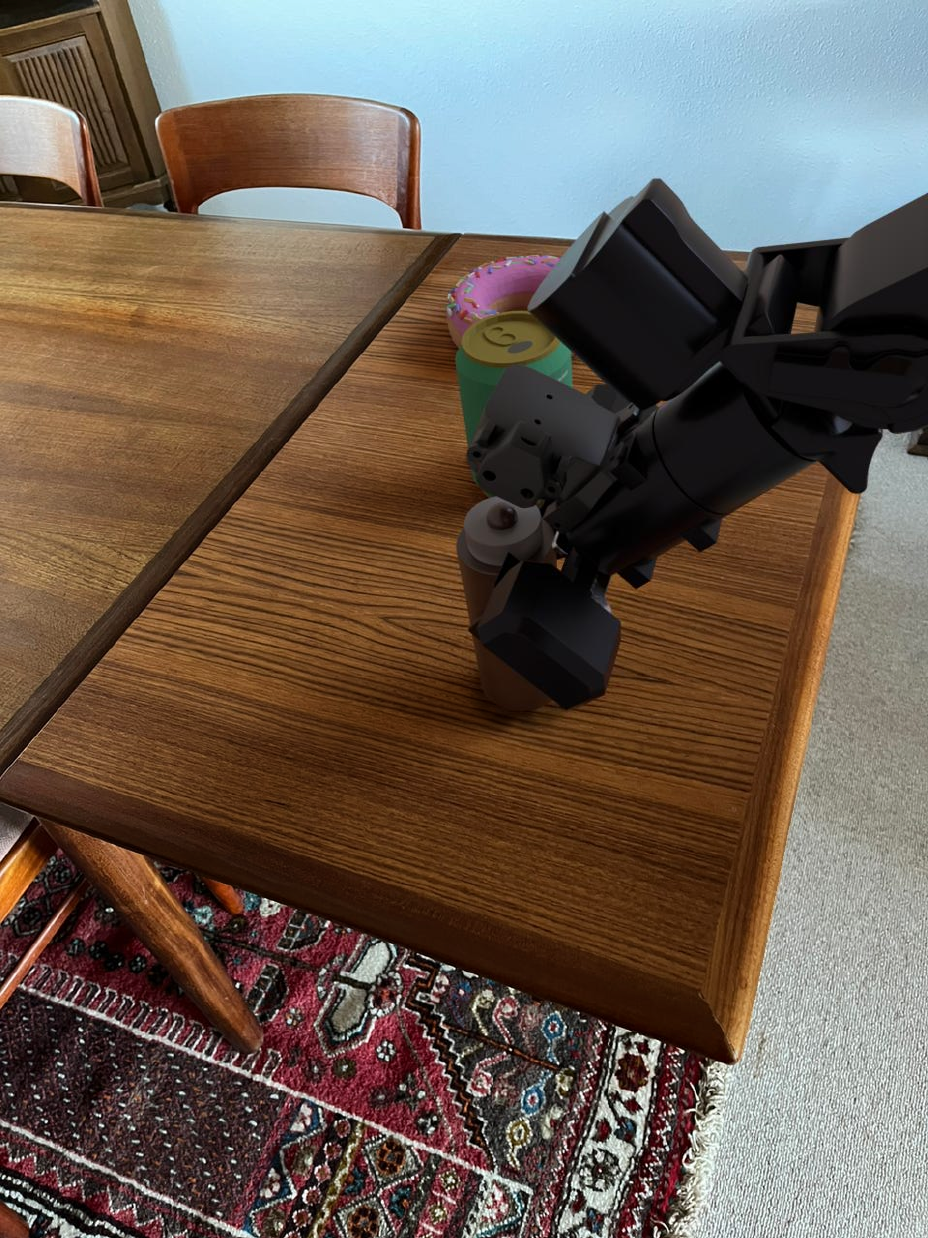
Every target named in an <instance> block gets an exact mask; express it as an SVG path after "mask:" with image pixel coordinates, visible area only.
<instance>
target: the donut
mask: <svg viewBox="0 0 928 1238" xmlns="http://www.w3.org/2000/svg"><path fill="white" fill-rule="evenodd" d="M559 260H560V258H559V257H557V256H553V255H550V254H547V255H546V254H545V255H539V254H529V255H526V256H524V255H517V256H506V257H504V258H500V259H496V262H494V261H493V260H492V261H490V262H489V261H488V262H485V263H482V264H481V265H478V267H476V268H473V269H471V270H470V271H469V272H468V273H466V274H465V275H464V276H461V278H460V279H459V280H458V282H457V283H456V284H454V288H453V289H451V290H449V291H448V294H447V299H446V303H447V305H446V306H445V310H446V314H445V317H446V324H447V328H448V332H449V335H450V337H451V338H452V341H453V343H454V344H455V345H456V347H457V348H458V349H459V348H460V346H461V344H462V341H461V340H462V336H463V334H464V332H465V331H466V330H467V329H468V328H469V327H470V326H471V325H472V324H474V323H475V322H477V321H479V320H481V319H483V318H485V317H488V316H490V315H494V314H497V313H502V312H508V311H528V310H527V307H528V305H529V302H530V300H531V299H532V297H533V295H534V294H535V292H536V291H537V289H538V288H539V286H540V285H541V283H542V282H543V280H544V279H545V278H546V276H547V275H548V274H549V272H550V271H551V270H552V269H553V267H554V266H555V265H556V263H557V262H558V261H559ZM573 356H575V355H574V354H573V353H572V352H571V357H573Z"/></svg>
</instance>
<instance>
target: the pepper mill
mask: <svg viewBox="0 0 928 1238" xmlns="http://www.w3.org/2000/svg"><path fill="white" fill-rule="evenodd" d="M537 506H538V505H537V504H536V505H535V506H533V507H529V508H520V507H518V506H516V505H514V504H511V503H509V502H507V501H505V500H503V499H501V498H499V497H497V496H496V497H492V498H489V497H487V498H486V499H484V500H481V501H479V502H477V503H476V504H475V505H473V506H472V507H471V509H469V511H468V512H467V513H466V515H465V517H464V521H463V528H462V529H461V531H460V532H459V534H458V536H457V539H456V544H455V549H456V550H455V551H456V556H457V561H458V565H459V571H460V577H461V583H462V588H463V594H464V599H465V604H466V609H467V615H468V620H469V625H470V624H471V623H472V622H473V621H474V619H475V618H476V617H477V616H478V615H479V614H480V613H481V612H482V611H483V610H484V609H485V608H486V606H487V604H488V601H489V599H490V597H491V594H492V588H493V585H494V582H495V580H496V578H497V576H498V573H499V571H500V569H501V566H502V564H503V562H504V560H505V557H506V555H507V553H508V552H510V553H511V554H512V555H513V556H514V557H516V558H517V559H518V560H519V561H523V560H527V561H534V562H542V563H549V564H552V565H553V566H555V567H556V568H558V560H557V558H556V551H555V550H554V549H553V547H552V542H553V539H554V537H555V535H554V531H553V529H552V527H551V526H550V525H549V524H548V523H547V522H546V521H545V520H543V517H541V513H540V510H539V509H538V507H537ZM471 638H472V642H473V648H474V653H475V658H476V660H475V661H476V665H477V672H478V675H479V681H480V686H481V689H482V692H483V693H484V695H485V696H486V697H487V699H488V700H490V701H491V702H492V703H493V704H495V705H496V706H498V707H500V708H503V709H506V710H509V711H515V712H516V711H517V712H525V711H532V710H536V709H539V708H542V707H544V706H546V705H548V704H550V703H551V702H552V701H553V700H552V699H551V698H549V697H548V696H547V695H546V694H544V693H543V692H542V691H540V690H539V689H538V688H537V687H535V686H534V685H533V684H531V683H530V682H529V681H527V680H526V679H525V678H524V677H522V676H521V675H520V674H518V673H517V672H516V671H515V670H513V669H512V668H511V667H509V666H508V665H507V664H506V663H504V662H503V661H502V660H500V659H499V658H498V657H497V656H495V655H494V654H493V653H491V652H490V651H489V650H488V649H486V648H485V647H484V646H482V643H481V641H480V640H479V639H477V638H476V637H475V636H473V635H472V634H471Z"/></svg>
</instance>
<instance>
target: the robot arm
mask: <svg viewBox="0 0 928 1238" xmlns="http://www.w3.org/2000/svg"><path fill="white" fill-rule="evenodd" d="M559 259H560V260H559V261H558V262H557V263H556V265H555V266H554V267H553V269H552V270H551V271H550V272H549V274H548V275H547V276H546V278H545V279H544V280H543V282H542V283H541V285H540V286H539V288H538V289H537V291H536V292H535V294H534V295H533V297H532V299H531V300H530V302H529V305H528V307H527V310H528V312H529V313H531V314H532V315H533V316H534V317H535V318H536V319H537V320H538V321H539V322H540V323H541V324H542V325H543V326H544V327H546V328H547V329H548V330H549V331H550V332H551V333H552V334H553V335H554V336H555V337H556V338H557V339H558V340H559V341H560V342H562V343H563V344H564V345H565V346H566V347H567V348H568V349H569V350H570V351H571V352H572V353H573V354H574V355H573V356H575V357H576V358H577V359H579V360H580V361H581V362H582V363H583V364H584V365H585V366H586V367H587V368H588V369H589V370H591V372H592V373H594V375H595V376H596V377H598V378H599V379H600V380H601V381H602V382H603V383H604V384H599V383H597V384H595V385H594V386H592V387H591V389H589V390H588V391H587V392H582V391H580V390H578V389H576V388H574V387H573V388H572V387H570V386H568V385H566V384H563V383H561V382H559V381H557V380H555V379H553V378H551V377H549V376H547V375H544V374H542V373H540V372H538V371H536V370H534V369H532V368H530V367H527V366H524V365H511V366H509V367H507V368H506V369H505V371H504V372H503V374H502V376H501V378H500V380H499V381H498V383H497V385H496V387H495V389H494V391H493V393H492V394H491V396H490V398H489V400H488V402H487V404H486V406H485V408H484V411H483V413H482V416H481V418H480V421H479V423H478V426H477V428H476V431H475V433H474V436H473V438H472V441H471V443H470V446H469V448H468V447H467V449H466V454H465V462H466V464H467V466H468V467H469V468H470V470H471V469H472V470H473V471H474V472H476V473H477V474H476V481H477V483H478V485H479V486H478V485H477V486H478V487H479V488H480V490H481V489H482V490H484V491H486V492H488V493H490V494H492V495H494V496H497V497H499V498H501V499H503V500H505V501H507V502H509V503H511V504H514V505H516V506H518V507H520V508H529V507H533V506H535V505H536V506H537V507H538V509H539V510H540V513H541V517H543V520H545V521H546V522H547V523H548V524H549V525H550V526H551V527H552V529H553V531H554V535H555V537H554V539H553V542H552V547H553V549H554V550H555V551H556V558H557V561H558V560H562V559H564V560H563V563H562V566H561V569H559V568H558V567H557V568H556V567H555V566H553V565H552V564H549V563H542V562H534V561H527V560H523V561H519V560H518V559H517V558H516V557H514V556H513V555H512V554H511V553H510V552H508V553H507V555H506V557H505V560H504V562H503V564H502V566H501V569H500V571H499V573H498V576H497V578H496V580H495V582H494V585H493V588H492V594H491V597H490V599H489V601H488V604H487V606H486V608H485V609H484V610H483V611H482V612H481V613H480V614H479V615H478V616H477V617H476V618H475V619H474V621H473V622H472V623H471V624H470V623H469V626H468V627H467V632H468V633H470V634H471V636H472V635H473V636H475V637H476V638H477V639H479V640H480V641H481V643H482V646H484V647H485V648H486V649H488V650H489V651H490V652H491V653H493V654H494V655H495V656H497V657H498V658H499V659H500V660H502V661H503V662H504V663H506V664H507V665H508V666H509V667H511V668H512V669H513V670H515V671H516V672H517V673H518V674H520V675H521V676H522V677H524V678H525V679H526V680H527V681H529V682H530V683H531V684H533V685H534V686H535V687H537V688H538V689H539V690H540V691H542V692H543V693H544V694H546V695H547V696H548V697H549V698H551V699H552V701H553V702H555V703H556V704H557V705H558V706H560V707H561V708H562V709H564V710H565V711H570V710H574V709H578V708H580V707H583V706H585V705H587V704H589V703H591V702H593V701H595V700H598V699H599V698H601V697H604V696H606V692H607V689H608V687H609V683H610V680H611V676H612V672H613V669H614V666H615V662H616V659H617V656H618V653H619V648H620V646H621V642H622V621H621V620H619V618H617V617H616V616H615V615H614V614H613V613H612V609H611V608H612V607H611V606H610V604H609V603H608V601H607V599H606V595H607V592H608V588H609V585H610V582H611V579H612V576H614V575H618V576H619V577H620V578H621V579H623V580H624V581H625V582H626V583H627V584H629V585H630V586H631V587H632V588H634V589H635V590H638V589H640V588H641V587H643V586H645V585H647V584H648V583H650V582H652V578H653V575H654V571H655V567H656V565H657V561H658V558H659V557H660V556H663V555H664V554H666V553H667V552H669V551H671V550H672V549H674V548H676V547H677V546H679V545H681V544H682V543H684V542H687V543H688V544H690V545H691V546H692V547H693V548H694V549H695V550H696V551H697V552H698V553H702V552H703V551H705V550H707V549H709V548H710V547H713V546H715V545H716V544H717V543H718V540H719V536H720V531H721V527H722V523H723V519H725V518H726V517H727V516H729V515H731V514H733V513H734V512H735V511H737V510H739V509H740V508H742V507H744V506H745V505H747V504H749V503H750V502H752V501H754V500H755V499H757V498H759V497H761V496H762V495H764V494H766V493H767V492H769V491H771V490H773V489H774V488H776V487H778V486H779V485H781V484H782V483H784V482H786V481H788V480H789V479H790V478H792V477H794V476H795V475H797V474H799V473H801V472H803V471H805V469H808V468H809V467H810V466H813V465H814V464H816V463H819V464H820V465H821V466H823V468H824V469H825V470H827V471H828V473H830V474H831V475H832V476H833V477H834V479H836V480H837V481H838V482H839V483H840V484H841V485H842V486H843V487H844V489H846V490H847V491H848V492H849V493H851V494H853V495H859V494H863V493H864V492H866V490H867V489H868V486H869V475H870V473H869V472H870V467H871V462H872V459H873V456H874V453H875V452H876V449H877V447H878V445H879V443H880V442H881V441H882V440H883V437H884V430H886V431H888V432H889V433H891V434H893V435H902V434H908V433H912V432H913V433H914V432H918V431H921V430H923V429H925V428H928V192H926V193H925V194H922V195H921V196H918V197H917V198H915V199H913V200H911V201H909V202H907V203H905V204H903V205H901V206H900V207H898V208H896V209H894V210H892V211H890V212H889V213H887V214H885V215H883V216H881V217H879V218H877V219H875V220H873V221H871V222H870V223H868V224H865V225H864V226H863V227H861V228H859V229H858V230H856V231H855V232H853V233H852V234H851V235H850V236H849V237H840V238H839V237H838V238H831V239H822V240H821V239H819V240H812V241H804V242H803V241H802V242H792V243H784V244H774V245H764V246H757V247H755V248H753V249H752V250H751V251H750V252H749V255H748V258H747V262H746V264H745V269H744V270H743V271H742V269H741V268H739V266H738V265H737V264H736V263H735V262H734V261H733V260H732V259H731V258H730V257H729V256H728V255H727V254H726V252H724V250H722V249H721V247H720V246H718V244H717V243H716V242H715V241H714V240H713V239H712V238H711V237H710V236H709V235H708V234H707V233H706V232H705V231H704V230H703V229H702V228H701V227H700V226H699V224H698V223H696V221H695V220H694V219H693V218H692V216H691V215H690V213H689V211H688V209H687V207H686V206H685V203H684V202H683V201H682V199H680V197H679V196H678V195H677V194H676V193H675V191H673V189H671V187H670V186H669V185H668V184H667V183H666V182H665V181H664V180H663V179H662V178H660V177H659V178H657V177H656V178H652V179H650V181H649V182H648V183H647V184H646V185H645V186H643V188H642V189H640V191H638V193H636V195H635V196H634V195H633V196H632V195H630V196H628V197H627V198H624V199H623V200H622V201H621V202H620V203H619V204H617V205H616V206H615V207H614V208H613V209H612V210H611V211H610V212H608V213H607V212H606V211H605V210H603V211H602V212H601V213H600V214H599V215H598V216H597V217H596V218H595V219H594V220H593V221H592V222H591V223H590V224H589V225H588V226H587V227H586V229H585V230H584V231H583V232H581V234H580V235H579V236H578V237H577V238H576V240H574V242H573V243H572V244H571V245H570V246H569V247H568V249H566V251H565V253H564V254H562V256H561V257H560V258H559ZM798 304H802V305H806V306H807V305H808V306H812V307H815V308H817V312H816V317H815V325H814V329H813V332H811V331H810V332H798V333H792V332H793V331H792V330H793V326H794V322H795V318H796V317H795V316H796V311H797V307H798ZM661 402H664V403H662V404H660V405H658V404H659V403H661ZM482 490H481V491H482ZM538 499H541V501H540V503H538V504H536V503H537V501H538Z"/></svg>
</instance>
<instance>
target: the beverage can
mask: <svg viewBox="0 0 928 1238" xmlns="http://www.w3.org/2000/svg"><path fill="white" fill-rule="evenodd" d="M461 341H462V344H461V346H460V348H458V350H457V352H456V354H455V358H454V360H455V361H454V362H455V368H456V376H457V380H458V381H457V382H458V389H459V397H460V403H461V410H462V416H463V417H462V418H463V423H464V431H465V437H466V445H467V449H468V448H469V446H470V443H471V441H472V438H473V436H474V433H475V431H476V428H477V426H478V423H479V421H480V418H481V416H482V413H483V411H484V408H485V406H486V404H487V402H488V400H489V398H490V396H491V394H492V393H493V391H494V389H495V387H496V385H497V383H498V381H499V380H500V378H501V376H502V374H503V372H504V371H505V369H506V368H507V367H509V366H511V365H524V366H527V367H530V368H532V369H534V370H536V371H538V372H540V373H542V374H544V375H547V376H549V377H551V378H553V379H555V380H557V381H559V382H561V383H563V384H566V385H568V386H570V387H572V388H574V387H573V367H572V365H573V363H572V356H571V351H570V350H569V349H568V348H567V347H566V346H565V345H564V344H563V343H562V342H560V341H559V340H558V339H557V338H556V337H555V336H554V335H553V334H552V333H551V332H550V331H549V330H548V329H547V328H546V327H544V326H543V325H542V324H541V323H540V322H539V321H538V320H537V319H536V318H535V317H534V316H533V315H532V314H531V313H529V312H528V311H508V312H502V313H497V314H494V315H490V316H488V317H485V318H483V319H481V320H479V321H477V322H475V323H474V324H472V325H471V326H470V327H469V328H468V329H467V330H466V331H465V332H464V334H463V336H462V340H461ZM470 473H471V476H472V479H473V481H474V482H475V484H476V485H477V486H478V487H479V485H478V483H477V481H476V474H477V473H476V472H474V471H473V470H472V469H471V468H470ZM480 490H481V491H482V492H483V494H484V495H485V496H486V497H487V498H492V497H496V496H494V495H492V494H490V493H488V492H486V491H484V490H482V489H481V488H480ZM540 501H541V499H538V501H537V503H536V505H538V504H539V503H540Z"/></svg>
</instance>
